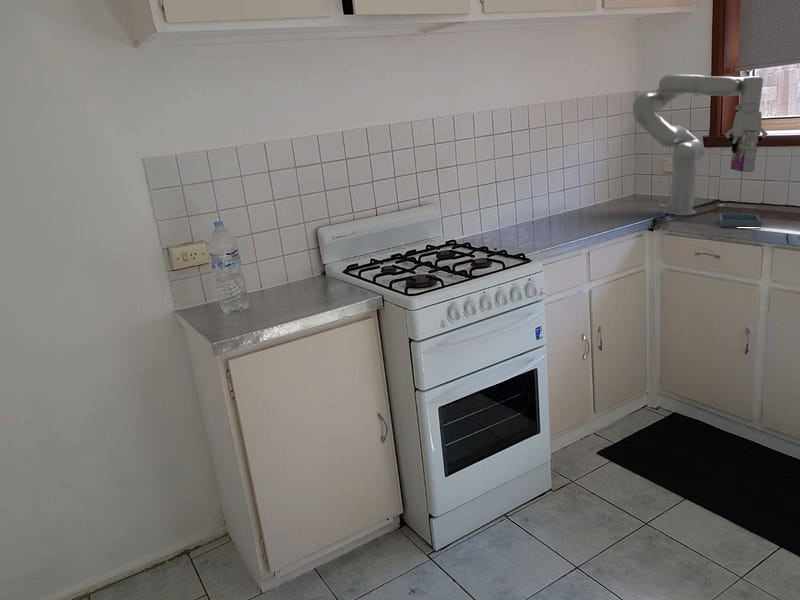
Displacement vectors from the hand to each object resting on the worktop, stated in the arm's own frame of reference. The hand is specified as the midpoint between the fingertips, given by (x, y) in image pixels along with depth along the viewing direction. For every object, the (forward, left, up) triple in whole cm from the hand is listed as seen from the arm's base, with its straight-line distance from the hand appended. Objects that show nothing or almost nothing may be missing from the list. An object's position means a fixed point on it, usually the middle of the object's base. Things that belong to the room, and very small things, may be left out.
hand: (743, 152), depth 266 cm
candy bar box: (0, 0, -7) cm, 7 cm away
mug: (-22, +30, -28) cm, 47 cm away
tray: (0, -16, -27) cm, 32 cm away
